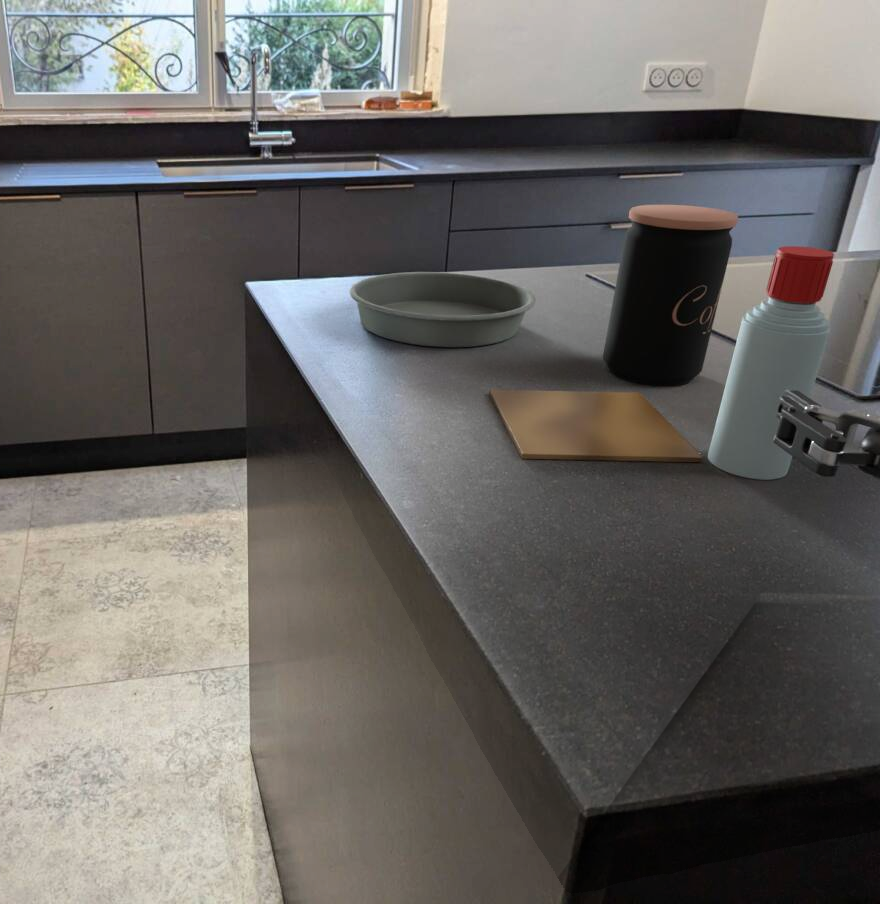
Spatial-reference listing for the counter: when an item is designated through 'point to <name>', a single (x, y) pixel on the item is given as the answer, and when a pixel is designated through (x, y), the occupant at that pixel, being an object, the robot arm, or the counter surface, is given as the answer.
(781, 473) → the bottle
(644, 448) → the mat
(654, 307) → the coffee jar
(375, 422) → the counter surface
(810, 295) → the cap
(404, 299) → the cake pan
